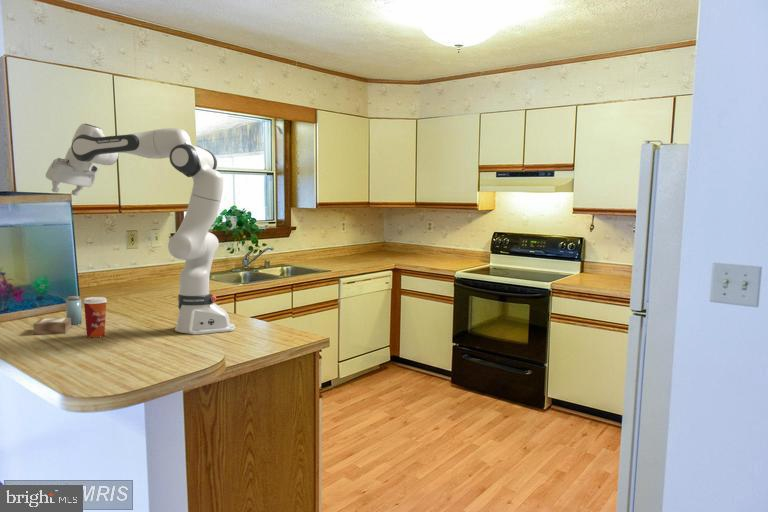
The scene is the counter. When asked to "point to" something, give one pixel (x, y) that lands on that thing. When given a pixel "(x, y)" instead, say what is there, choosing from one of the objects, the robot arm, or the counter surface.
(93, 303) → the paper cup
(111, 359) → the counter surface
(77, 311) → the jar
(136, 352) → the counter surface
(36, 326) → the base
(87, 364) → the counter surface
